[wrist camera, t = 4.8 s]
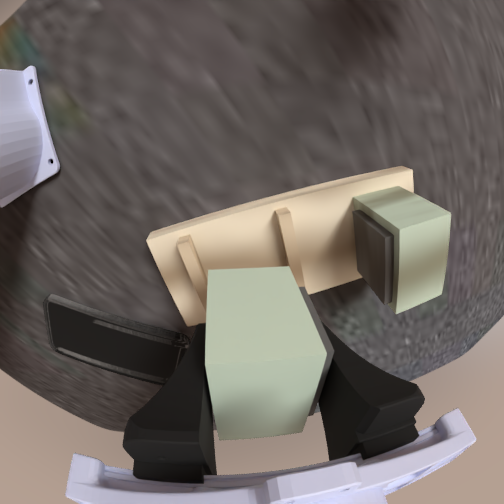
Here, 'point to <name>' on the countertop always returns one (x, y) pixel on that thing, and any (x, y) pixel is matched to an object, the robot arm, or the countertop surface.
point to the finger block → (263, 352)
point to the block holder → (316, 241)
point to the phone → (112, 341)
